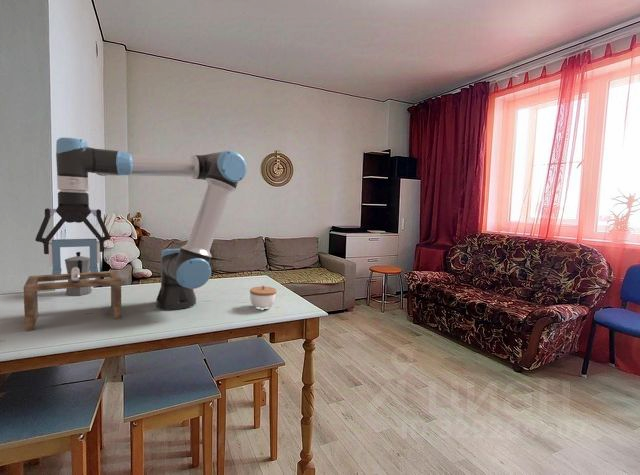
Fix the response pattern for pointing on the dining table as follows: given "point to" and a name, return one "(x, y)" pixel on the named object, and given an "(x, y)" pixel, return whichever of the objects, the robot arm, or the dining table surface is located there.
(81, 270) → the coffeepot
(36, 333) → the dining table surface
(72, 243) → the blue square arch
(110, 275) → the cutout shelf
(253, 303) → the lidded jar
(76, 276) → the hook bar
